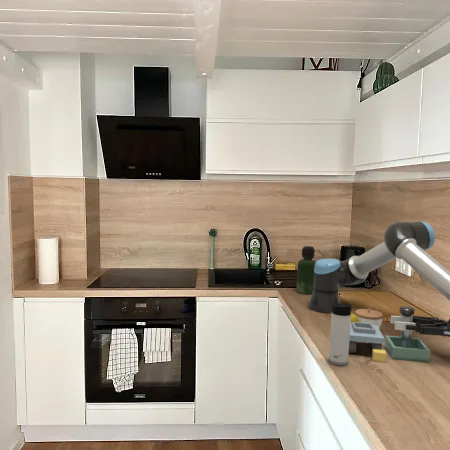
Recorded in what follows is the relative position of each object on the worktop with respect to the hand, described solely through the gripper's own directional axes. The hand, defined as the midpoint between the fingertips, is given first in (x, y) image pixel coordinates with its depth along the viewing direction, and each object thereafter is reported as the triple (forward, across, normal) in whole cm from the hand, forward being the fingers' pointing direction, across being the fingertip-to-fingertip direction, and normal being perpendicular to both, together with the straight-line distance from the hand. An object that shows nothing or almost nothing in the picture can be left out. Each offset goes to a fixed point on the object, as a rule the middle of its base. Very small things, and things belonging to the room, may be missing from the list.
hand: (393, 322), depth 151 cm
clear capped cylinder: (-5, 0, -10) cm, 11 cm away
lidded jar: (+5, +21, -11) cm, 24 cm away
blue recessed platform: (+10, +1, -11) cm, 15 cm away
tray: (-5, 0, -11) cm, 12 cm away
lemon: (+12, +18, -11) cm, 24 cm away
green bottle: (+28, +78, -11) cm, 84 cm away
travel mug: (+19, -13, -11) cm, 26 cm away
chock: (+6, -8, -11) cm, 15 cm away
